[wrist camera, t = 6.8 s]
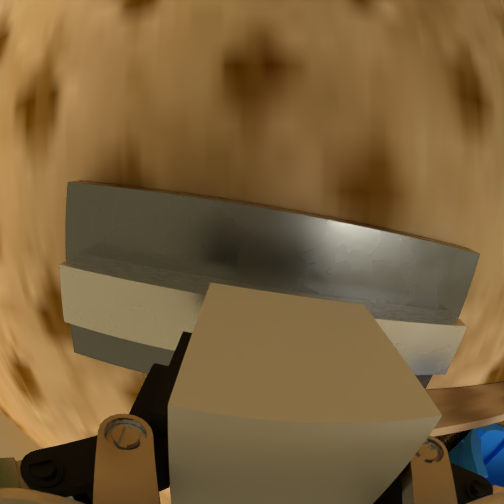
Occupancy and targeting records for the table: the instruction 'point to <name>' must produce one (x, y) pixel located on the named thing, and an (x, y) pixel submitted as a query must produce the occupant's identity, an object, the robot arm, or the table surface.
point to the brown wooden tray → (468, 407)
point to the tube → (482, 453)
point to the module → (291, 404)
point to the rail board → (245, 272)
